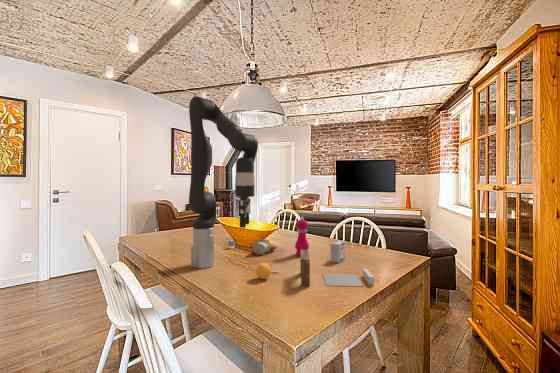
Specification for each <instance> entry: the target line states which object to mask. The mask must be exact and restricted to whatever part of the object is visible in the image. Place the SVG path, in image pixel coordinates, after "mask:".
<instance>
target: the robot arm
mask: <svg viewBox="0 0 560 373" xmlns="http://www.w3.org/2000/svg"><path fill="white" fill-rule="evenodd" d="M188 106H189V107H188V110H189V111H188V112H189V113H188V115H189V122H190V124H189V125H190V143H191V144H190V163H191V164H190V165H191V166H190V185H189V193H188V195H189V196H188V206H189V209H190V211H191V212H193V213H194V214H198V217H197V218H196V219H195V220H193V222H192V245H191V246H190V268H195V269H208V268H211V267H214V266H215V223H216V220H217V199H216V196H215V194H213V193H212V192H209V191H205V190H206V189H205V186H206V185H205V184H206V183H205V182H206V179H207V176H208V174H209V172H210V170H211V167H212V165H213V147H212V144H211V142H210V140H209V138H208V136H207V133H206V132H205V130H204V123H203V120H204V121H209V122H212V123H213V124H215V125H216V129H217V131H218V132H219V133H220V134H221V135H222V136H223V137H224V138H225V139H227V141H228V143H229V144H230V146H231V147H232V148H233V149H234V150H236V151H239V152H243V156H241V157H239V158H237V159H236V161H235V179H234V181H235V182H234V183H235V185H234V195H235V197H236V198H237V197H238V198H240V199H239V200H238V207H237V208H238V213H237V215H238V217H239V228H243V229H244V228H246V227H247V225H249V224H250V214H251V198H250V197H253V198H254V197H255V160H256V158H257V153H258V149H259V141H258V139H257V137H256V136H255V135H253V134H248V133H244V132H243V131H242V128H241V127H240V126H239V125H237V123H235V122H234V121H232V119H230V118H229V117H227V116H226V115H225V113H224V112H223V111H222V110H221V109H220V108H219V106H218V105H217V104H216V102H214V101H213V100H211V99H208V98H205V97H202V96H197V95H195V96H194V95H193V97H191V99H190V102H189V105H188Z"/></svg>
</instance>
